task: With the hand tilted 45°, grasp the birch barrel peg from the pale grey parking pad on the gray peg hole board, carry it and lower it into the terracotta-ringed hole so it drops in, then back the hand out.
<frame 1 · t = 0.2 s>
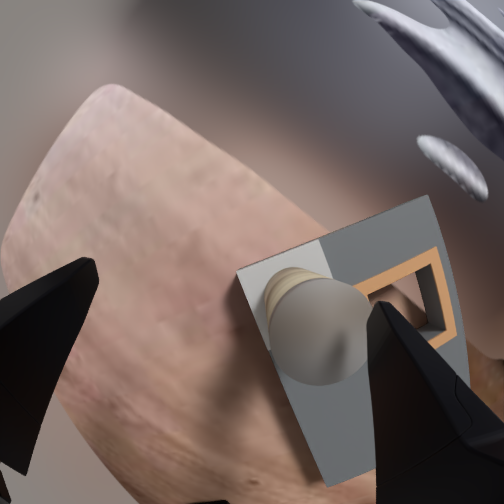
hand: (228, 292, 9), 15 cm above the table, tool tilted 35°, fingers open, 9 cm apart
gray peg hole board: (373, 352, 23), on the table
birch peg: (293, 296, 20), point 3 cm above the table, touching gray peg hole board
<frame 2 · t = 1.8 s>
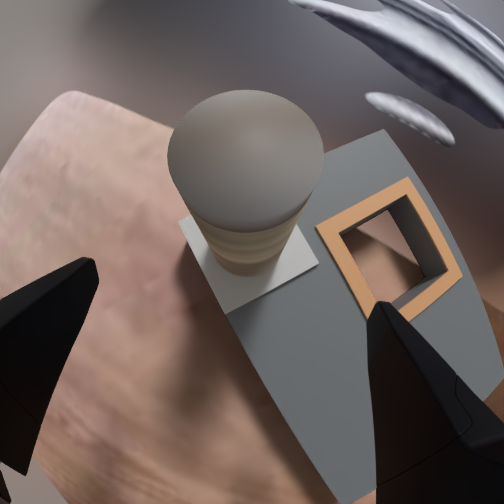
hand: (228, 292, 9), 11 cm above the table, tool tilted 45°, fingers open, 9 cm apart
gray peg hole board: (366, 319, 19), on the table
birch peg: (247, 241, 17), point 3 cm above the table, touching gray peg hole board
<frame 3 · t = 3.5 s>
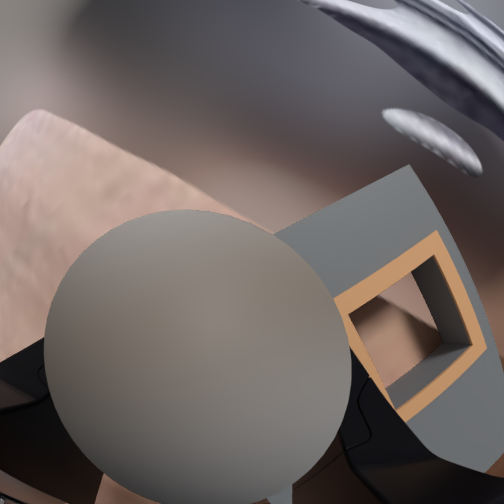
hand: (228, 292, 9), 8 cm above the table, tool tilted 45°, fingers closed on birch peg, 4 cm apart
gray peg hole board: (373, 397, 15), on the table
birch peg: (231, 330, 13), point 3 cm above the table, touching gripper, gray peg hole board
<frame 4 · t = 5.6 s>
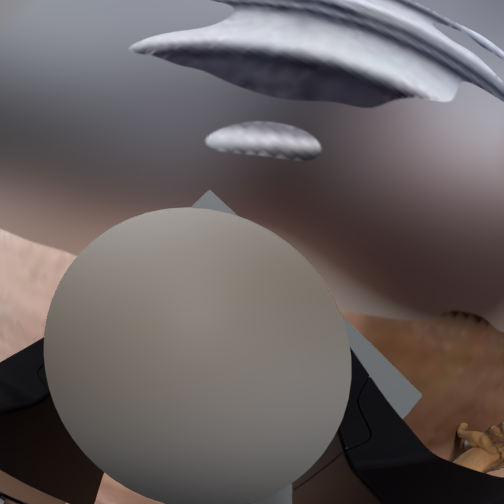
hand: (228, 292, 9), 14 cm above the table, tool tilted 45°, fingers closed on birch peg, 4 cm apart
lion figurine: (442, 446, 19), on the table
gray peg hole board: (242, 378, 21), on the table
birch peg: (231, 329, 13), point 9 cm above the table, touching gripper
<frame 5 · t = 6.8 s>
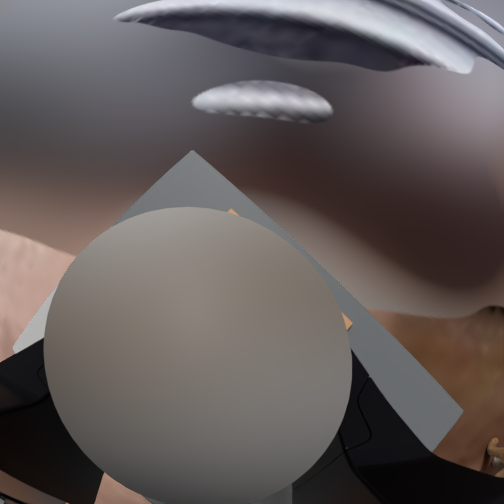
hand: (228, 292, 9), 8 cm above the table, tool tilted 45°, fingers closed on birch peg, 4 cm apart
lion figurine: (470, 466, 14), on the table
gray peg hole board: (237, 397, 16), on the table
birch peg: (231, 329, 13), point 4 cm above the table, touching gripper
when the fingers open (7 cm above the table, at t = 7.5 s): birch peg drops 2 cm, resting in gray peg hole board.
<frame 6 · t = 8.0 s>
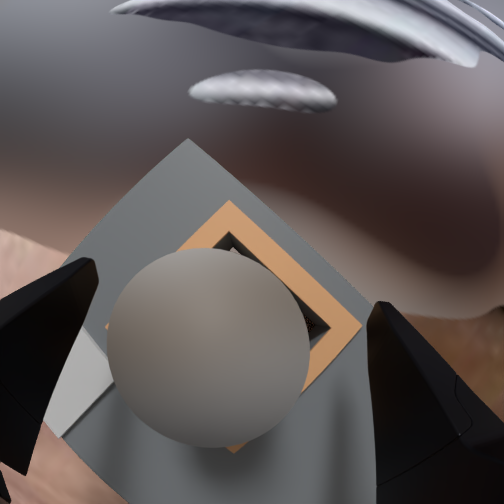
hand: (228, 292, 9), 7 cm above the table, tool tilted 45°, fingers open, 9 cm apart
gray peg hole board: (235, 405, 14), on the table
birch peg: (233, 327, 15), resting in gray peg hole board
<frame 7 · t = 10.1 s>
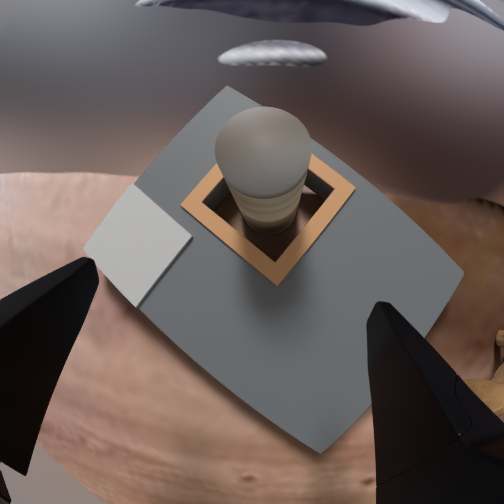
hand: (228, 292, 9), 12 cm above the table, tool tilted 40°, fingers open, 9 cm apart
lion figurine: (482, 358, 19), on the table
gray peg hole board: (275, 265, 21), on the table
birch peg: (269, 207, 22), resting in gray peg hole board
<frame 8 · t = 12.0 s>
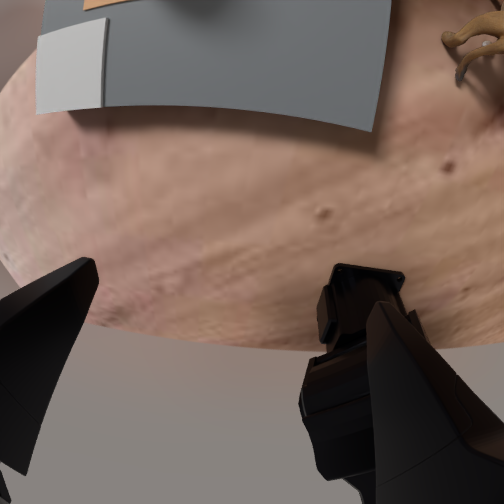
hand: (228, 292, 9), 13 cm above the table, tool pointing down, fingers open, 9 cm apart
lion figurine: (482, 8, 10), on the table
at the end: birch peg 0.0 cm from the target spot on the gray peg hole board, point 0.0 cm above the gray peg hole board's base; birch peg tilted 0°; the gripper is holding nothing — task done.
